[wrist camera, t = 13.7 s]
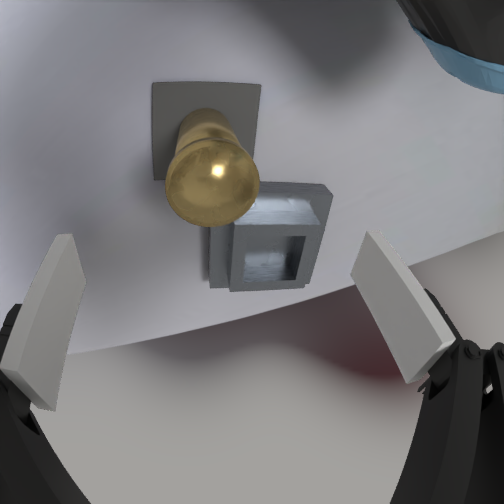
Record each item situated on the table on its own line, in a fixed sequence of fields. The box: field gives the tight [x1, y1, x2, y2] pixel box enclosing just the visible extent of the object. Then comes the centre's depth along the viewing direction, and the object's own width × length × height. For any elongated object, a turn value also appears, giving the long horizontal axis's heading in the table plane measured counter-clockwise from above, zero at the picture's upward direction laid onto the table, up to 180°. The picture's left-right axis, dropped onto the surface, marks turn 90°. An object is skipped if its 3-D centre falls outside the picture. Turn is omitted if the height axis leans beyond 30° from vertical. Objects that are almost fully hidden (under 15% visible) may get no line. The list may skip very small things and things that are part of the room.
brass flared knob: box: [165, 108, 260, 227], centre depth 24 cm, size 6×6×14 cm
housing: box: [209, 182, 333, 292], centre depth 37 cm, size 14×14×6 cm
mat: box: [152, 82, 261, 180], centre depth 30 cm, size 11×11×1 cm
